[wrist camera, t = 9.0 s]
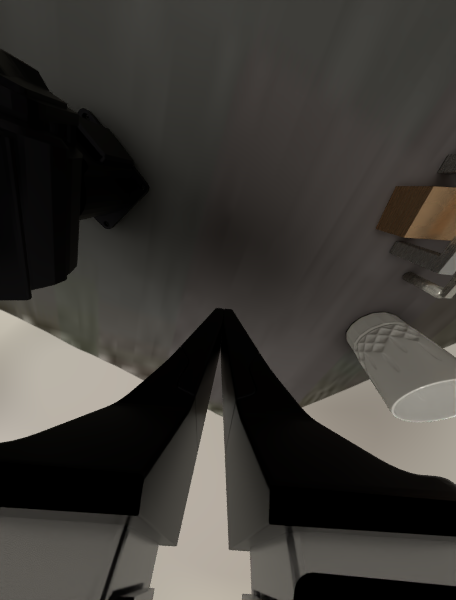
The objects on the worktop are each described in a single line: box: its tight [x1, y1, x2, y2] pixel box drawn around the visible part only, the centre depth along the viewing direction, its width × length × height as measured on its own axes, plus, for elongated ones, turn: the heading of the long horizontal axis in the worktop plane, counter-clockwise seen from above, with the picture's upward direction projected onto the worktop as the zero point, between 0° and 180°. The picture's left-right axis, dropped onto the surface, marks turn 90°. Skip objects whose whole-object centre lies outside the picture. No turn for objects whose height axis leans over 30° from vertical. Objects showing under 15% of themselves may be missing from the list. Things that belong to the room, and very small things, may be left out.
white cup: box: [346, 312, 456, 422], centre depth 21 cm, size 8×8×10 cm
